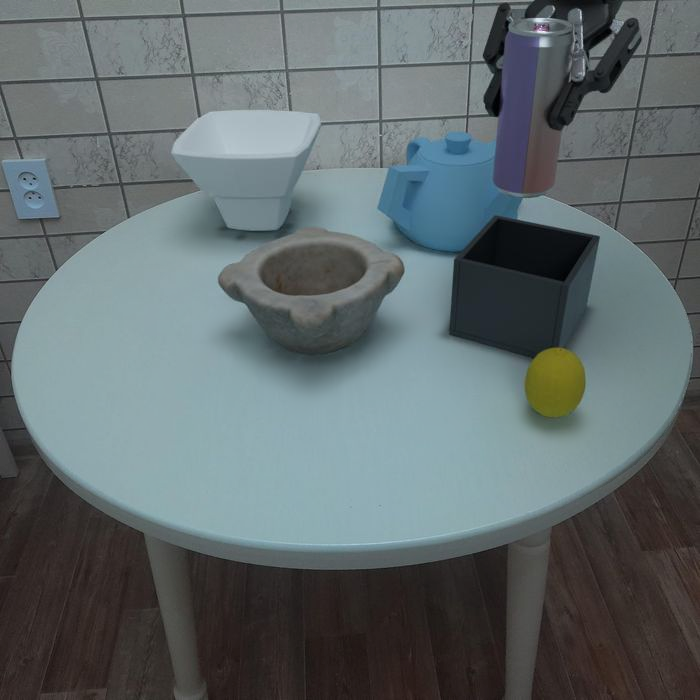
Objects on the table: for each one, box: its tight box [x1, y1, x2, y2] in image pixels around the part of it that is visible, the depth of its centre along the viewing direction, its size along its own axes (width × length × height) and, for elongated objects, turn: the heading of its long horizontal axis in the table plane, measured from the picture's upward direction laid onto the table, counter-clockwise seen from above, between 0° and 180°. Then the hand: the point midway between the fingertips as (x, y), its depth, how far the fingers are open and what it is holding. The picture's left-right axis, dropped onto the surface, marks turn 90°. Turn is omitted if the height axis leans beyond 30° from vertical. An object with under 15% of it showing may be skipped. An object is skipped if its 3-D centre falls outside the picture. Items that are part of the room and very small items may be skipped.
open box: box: [448, 215, 601, 359], centre depth 82 cm, size 12×12×10 cm
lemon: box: [524, 348, 587, 419], centre depth 69 cm, size 6×6×8 cm
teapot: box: [376, 131, 524, 253], centre depth 101 cm, size 19×19×14 cm
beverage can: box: [493, 18, 575, 199], centre depth 67 cm, size 6×6×15 cm
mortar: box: [217, 226, 406, 355], centre depth 81 cm, size 17×17×9 cm
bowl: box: [170, 109, 322, 232], centre depth 104 cm, size 19×19×14 cm
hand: (522, 118), depth 66 cm, fingers closed on beverage can, 6 cm apart
